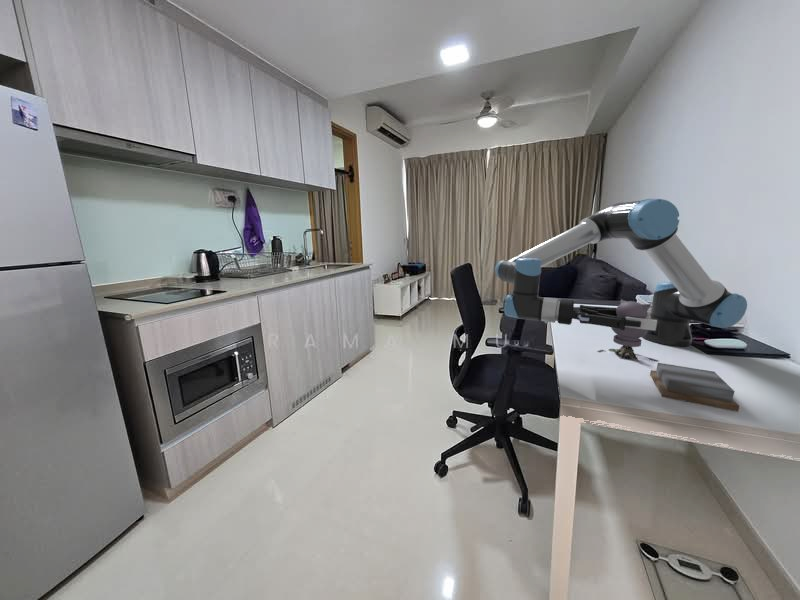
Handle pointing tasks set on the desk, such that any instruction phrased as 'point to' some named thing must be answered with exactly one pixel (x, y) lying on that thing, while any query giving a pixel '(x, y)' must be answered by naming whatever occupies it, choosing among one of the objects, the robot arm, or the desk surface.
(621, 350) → the eiffel tower figurine
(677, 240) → the robot arm
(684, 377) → the display plinth
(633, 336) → the cat figurine
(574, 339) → the desk surface
